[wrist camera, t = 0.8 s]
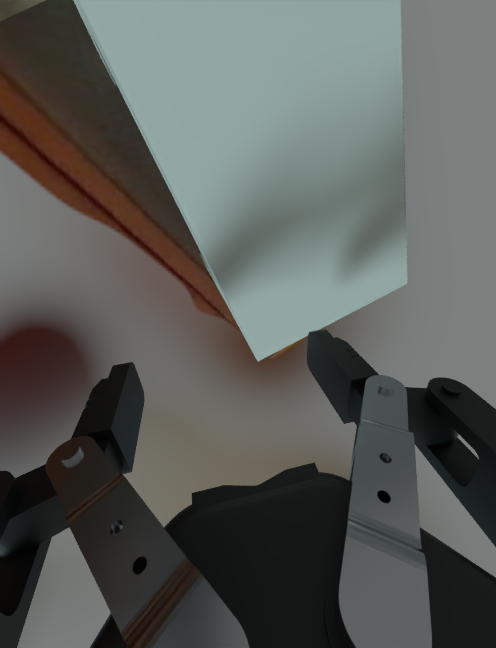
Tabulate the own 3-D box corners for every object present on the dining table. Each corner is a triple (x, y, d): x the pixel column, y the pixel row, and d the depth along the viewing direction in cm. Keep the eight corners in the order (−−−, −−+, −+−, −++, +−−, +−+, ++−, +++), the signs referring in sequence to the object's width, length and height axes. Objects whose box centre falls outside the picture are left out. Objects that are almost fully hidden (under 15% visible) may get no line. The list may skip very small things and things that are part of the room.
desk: (207, 268, 36) (257, 361, 18) (97, 51, 23) (-64, -289, 6) (293, 225, 36) (421, 275, 19) (231, -8, 24) (431, -465, 7)
